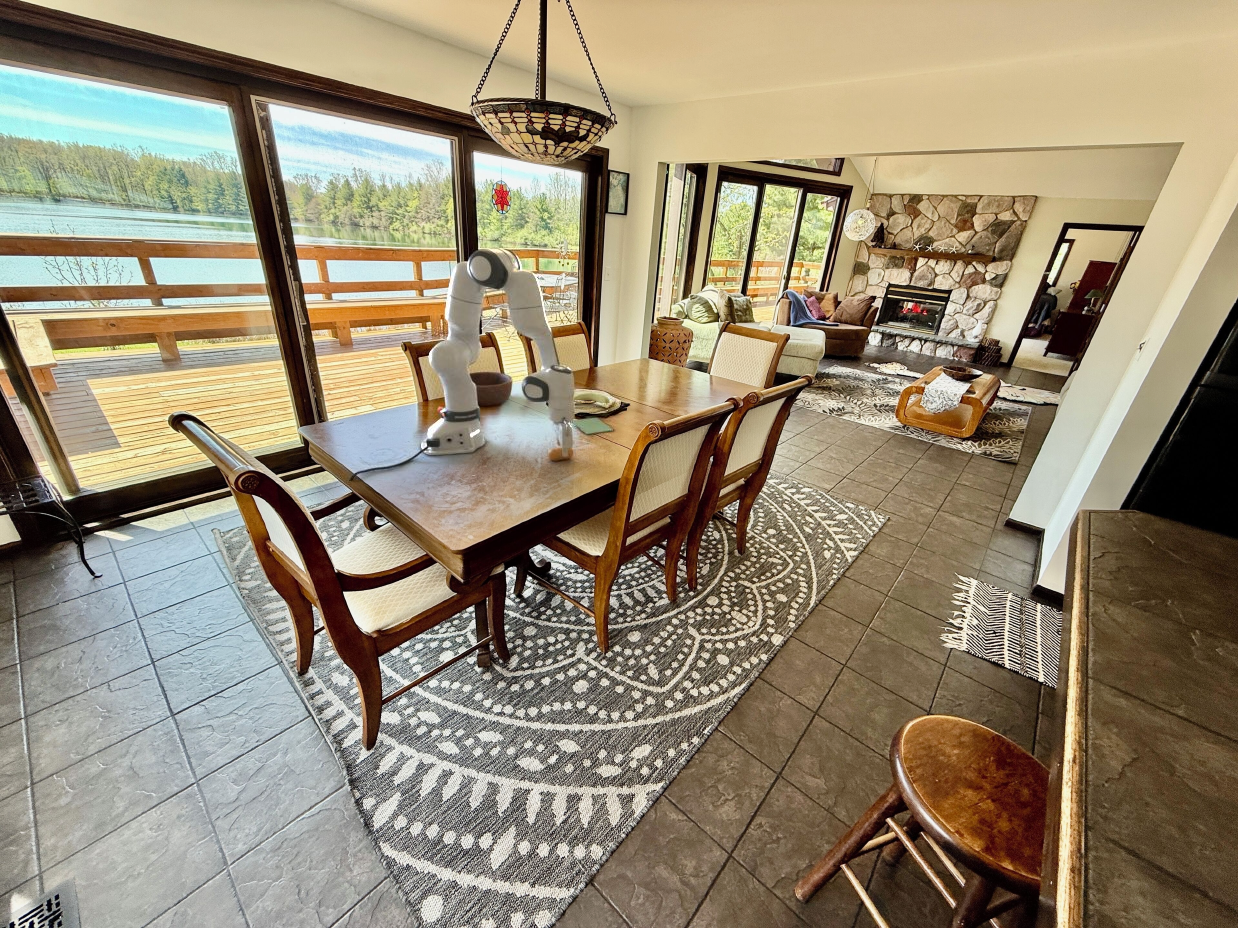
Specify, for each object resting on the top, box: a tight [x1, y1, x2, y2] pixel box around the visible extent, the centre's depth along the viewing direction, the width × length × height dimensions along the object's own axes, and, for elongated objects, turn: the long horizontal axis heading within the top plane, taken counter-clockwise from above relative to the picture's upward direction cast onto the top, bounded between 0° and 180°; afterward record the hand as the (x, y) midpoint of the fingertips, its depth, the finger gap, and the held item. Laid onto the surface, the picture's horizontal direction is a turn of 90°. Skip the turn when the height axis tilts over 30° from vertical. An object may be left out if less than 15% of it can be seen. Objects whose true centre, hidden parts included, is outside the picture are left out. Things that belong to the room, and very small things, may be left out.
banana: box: [573, 392, 610, 413], centre depth 223 cm, size 14×6×20 cm
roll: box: [547, 446, 574, 462], centre depth 170 cm, size 9×4×4 cm, turn 117°
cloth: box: [571, 417, 614, 435], centre depth 202 cm, size 12×16×1 cm
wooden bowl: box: [469, 371, 513, 407], centre depth 223 cm, size 25×25×10 cm
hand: (562, 450), depth 170 cm, fingers open, 8 cm apart
